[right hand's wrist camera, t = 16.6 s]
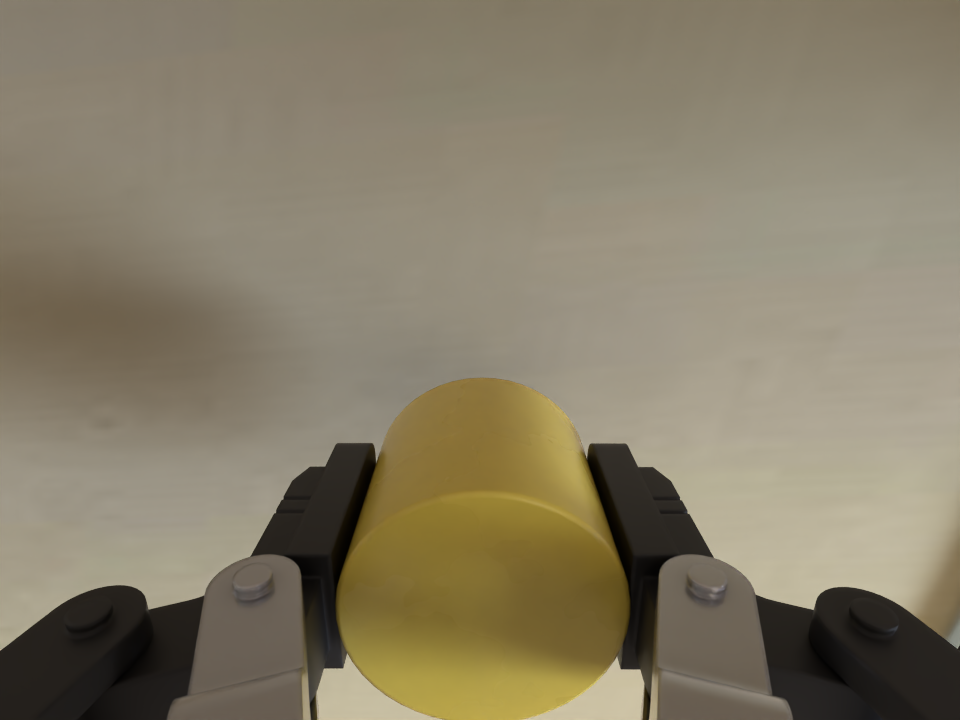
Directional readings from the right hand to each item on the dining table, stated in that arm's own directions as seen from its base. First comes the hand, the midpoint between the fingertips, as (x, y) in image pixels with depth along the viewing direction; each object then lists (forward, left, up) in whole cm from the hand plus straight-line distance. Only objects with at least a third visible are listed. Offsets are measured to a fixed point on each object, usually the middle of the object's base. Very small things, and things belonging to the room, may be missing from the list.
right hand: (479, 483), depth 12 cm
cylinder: (0, 0, -1) cm, 1 cm away
